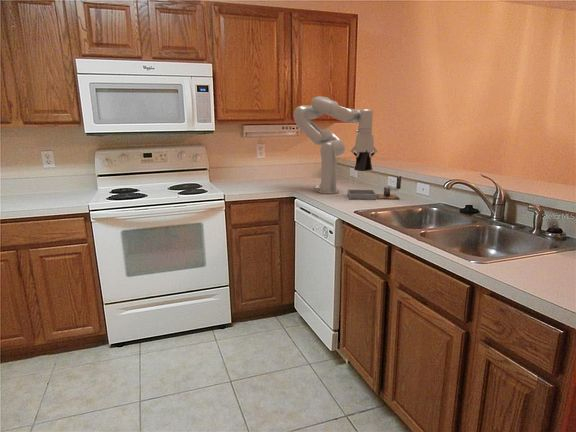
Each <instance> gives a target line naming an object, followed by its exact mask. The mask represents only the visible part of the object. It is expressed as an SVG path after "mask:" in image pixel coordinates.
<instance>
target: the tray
mask: <svg viewBox="0 0 576 432" xmlns="http://www.w3.org/2000/svg"><path fill="white" fill-rule="evenodd" d="M377 194H378V193H376V192H375V190H373V189H347V196H348V197H347V198H348V200H349V201H350V200H355V201H357V200H358V201H359V200H362V201H377V200H378V199H377Z"/></svg>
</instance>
